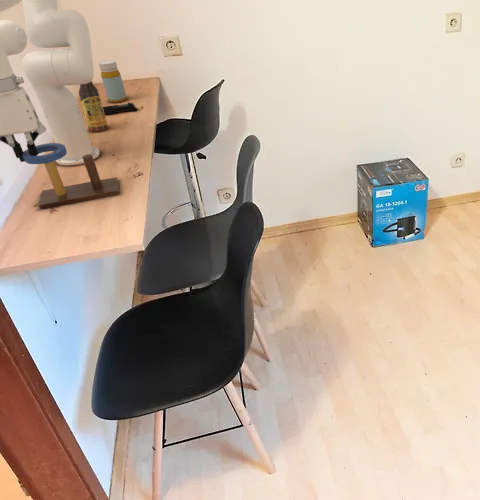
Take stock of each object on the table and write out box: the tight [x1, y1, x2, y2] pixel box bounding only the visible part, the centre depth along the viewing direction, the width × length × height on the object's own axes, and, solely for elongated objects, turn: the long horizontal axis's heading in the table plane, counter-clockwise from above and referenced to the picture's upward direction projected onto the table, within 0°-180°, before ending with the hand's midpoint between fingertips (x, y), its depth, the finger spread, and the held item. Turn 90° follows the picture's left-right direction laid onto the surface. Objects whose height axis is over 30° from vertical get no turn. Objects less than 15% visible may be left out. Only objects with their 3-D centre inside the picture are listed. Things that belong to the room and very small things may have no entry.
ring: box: [22, 142, 67, 165], centre depth 128 cm, size 10×10×2 cm
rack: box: [38, 154, 120, 210], centre depth 134 cm, size 9×19×10 cm, turn 112°
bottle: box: [98, 59, 128, 104], centre depth 201 cm, size 7×7×15 cm
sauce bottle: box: [78, 80, 108, 133], centre depth 173 cm, size 6×6×20 cm
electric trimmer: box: [102, 102, 138, 115], centre depth 192 cm, size 4×16×3 cm, turn 113°
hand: (28, 158), depth 128 cm, fingers closed on ring, 2 cm apart
